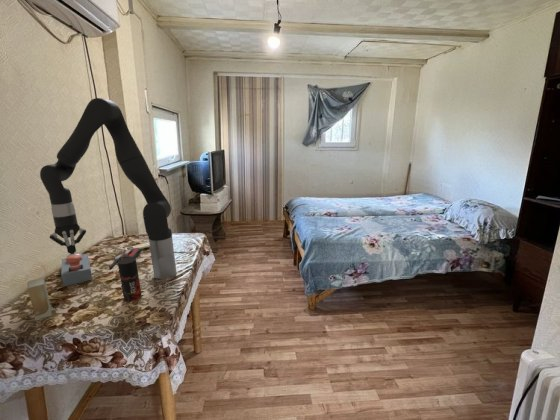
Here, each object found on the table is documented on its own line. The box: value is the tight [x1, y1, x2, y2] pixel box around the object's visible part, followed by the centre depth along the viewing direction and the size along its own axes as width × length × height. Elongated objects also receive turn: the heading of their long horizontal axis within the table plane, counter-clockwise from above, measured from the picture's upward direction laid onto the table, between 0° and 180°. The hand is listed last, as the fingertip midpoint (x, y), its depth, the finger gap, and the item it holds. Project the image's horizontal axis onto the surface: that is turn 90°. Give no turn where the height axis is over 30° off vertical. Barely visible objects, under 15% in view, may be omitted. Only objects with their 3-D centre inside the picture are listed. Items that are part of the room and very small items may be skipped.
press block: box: [60, 253, 93, 287], centre depth 130 cm, size 20×10×5 cm, turn 35°
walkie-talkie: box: [108, 247, 142, 269], centre depth 144 cm, size 9×4×20 cm
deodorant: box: [117, 257, 142, 303], centre depth 109 cm, size 6×6×15 cm
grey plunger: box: [66, 252, 83, 258], centre depth 134 cm, size 6×6×6 cm
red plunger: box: [65, 255, 82, 271], centre depth 124 cm, size 6×6×6 cm
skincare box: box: [27, 277, 52, 321], centre depth 100 cm, size 6×4×12 cm
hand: (72, 253), depth 123 cm, fingers closed
